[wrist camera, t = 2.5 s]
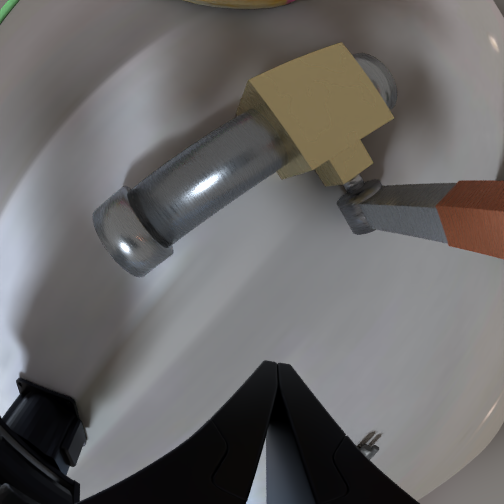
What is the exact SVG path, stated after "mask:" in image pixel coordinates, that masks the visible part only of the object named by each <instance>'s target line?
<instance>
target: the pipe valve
mask: <svg viewBox="0 0 504 504" xmlns="http://www.w3.org/2000/svg"><path fill="white" fill-rule="evenodd" d="M396 100H397V88H396V84H395V82H394V79H393V77H392V75H391V73H390V72H389V70H388V69H387V68H386V67H385V66H384V64H383V63H381V62H380V61H379V60H378V59H376V58H375V57H373V56H371V55H368V54H364V53H358V54H354V55H351V53H350V52H349V51H348V49H347V48H346V47H345V46H344V45H343V43H342V42H341V43H338V44H335V45H332V46H329V47H326V48H323V49H320V50H317V51H314V52H312V53H309V54H306V55H304V56H301V57H299V58H296V59H294V60H291V61H289V62H287V63H284V64H282V65H280V66H277V67H275V68H273V69H271V70H268V71H266V72H264V73H262V74H260V75H258V76H256V77H254V78H252V79H250V80H248V83H247V85H246V88H245V91H244V93H243V96H242V99H241V101H240V104H239V107H238V110H237V112H236V115H237V117H236V118H234V119H232V120H231V121H229V122H227V123H226V124H224V125H222V126H221V127H219V128H217V129H216V130H214V131H213V132H211V133H209V134H208V135H206V136H205V137H203V138H202V139H200V140H199V141H197V142H196V143H194V144H193V145H191V146H190V147H188V148H187V149H185V150H184V151H182V152H181V153H179V154H178V155H177V156H175V157H174V158H172V159H171V160H170V161H168V162H167V163H165V164H164V165H163V166H161V167H160V168H159V169H157V170H156V171H155V172H153V173H152V174H151V175H149V176H148V177H147V178H145V179H144V180H143V181H142V182H140V183H139V184H138V185H136V186H135V187H134V188H133V189H130V188H129V187H127V186H123V187H122V188H121V189H119V190H118V191H117V192H116V193H115V194H114V195H112V196H111V197H110V198H109V199H108V200H107V201H105V202H104V203H103V204H102V205H101V206H100V207H99V208H98V209H96V210H95V211H94V213H93V223H94V227H95V230H96V232H97V234H98V236H99V238H100V240H101V242H102V244H103V245H104V247H105V248H106V250H107V251H108V252H109V254H110V255H111V256H112V257H113V259H114V260H115V261H116V262H117V263H118V264H119V265H120V266H121V267H122V268H123V269H125V270H126V271H127V272H129V273H130V274H132V275H134V276H136V277H143V276H145V275H146V274H147V273H149V272H150V271H151V270H152V269H154V268H155V267H156V266H158V265H159V264H160V263H162V262H163V261H164V260H166V259H167V258H168V257H169V256H171V255H172V254H173V247H172V245H173V244H174V243H175V242H177V241H178V240H179V239H181V238H182V237H183V236H185V235H186V234H187V233H189V232H190V231H191V230H193V229H194V228H195V227H197V226H198V225H200V224H201V223H202V222H204V221H205V220H206V219H208V218H209V217H211V216H212V215H213V214H215V213H216V212H218V211H219V210H220V209H222V208H223V207H225V206H226V205H228V204H229V203H230V202H232V201H233V200H235V199H236V198H238V197H239V196H241V195H242V194H243V193H245V192H246V191H248V190H249V189H251V188H252V187H254V186H255V185H257V184H258V183H260V182H261V181H263V180H264V179H266V178H267V177H269V176H270V175H272V174H273V173H275V172H277V173H278V175H279V176H280V178H281V179H286V178H289V177H292V176H295V175H299V174H302V173H305V172H309V171H312V170H314V169H315V171H316V172H317V174H318V176H319V177H320V179H321V180H322V182H323V184H324V185H325V187H326V186H334V185H342V184H343V186H344V187H345V189H346V191H347V193H353V192H355V191H357V190H359V189H361V188H362V187H363V186H364V185H365V183H364V181H363V179H362V177H361V176H360V174H359V173H360V172H362V171H363V170H365V169H366V168H367V167H369V166H370V165H372V164H373V161H372V159H371V158H370V156H369V154H368V152H367V151H366V149H365V147H364V145H363V144H362V142H361V140H360V139H362V138H363V137H365V136H366V135H368V134H370V133H371V132H373V131H374V130H376V129H378V128H379V127H381V126H382V125H384V124H386V123H387V122H389V121H391V120H392V119H394V116H393V115H392V113H391V111H390V110H391V109H392V108H393V107H394V105H395V103H396Z"/></svg>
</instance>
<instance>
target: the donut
mask: <svg viewBox="0 0 504 504" xmlns="http://www.w3.org/2000/svg"><path fill="white" fill-rule="evenodd" d="M184 1H188V2H191V3H195V4H200V5H206V6H212V7H220V8H231V9H261V8H273V7H277V6H281V5H286V4H289V3H291V2H293V1H295V0H184Z"/></svg>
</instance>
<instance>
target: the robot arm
mask: <svg viewBox="0 0 504 504" xmlns="http://www.w3.org/2000/svg"><path fill="white" fill-rule="evenodd" d="M16 383H17V386H18V389H19V392H20V395H19V396H18V397H17V399H16V400H15V401H14V403H13V404H12V405H11V407H10V408H9V409H8V411H7V412H6V413H5V415H4V416H3V418H1V416H0V504H246V502H247V500H248V496H249V493H250V490H251V487H252V483H253V480H254V477H255V473H256V470H257V467H258V463H259V460H260V456H261V453H262V449H263V445H264V442H265V438H266V490H267V504H420V503H418V502H417V501H416V500H415V499H413V498H412V497H411V496H410V495H409V494H407V493H406V492H405V491H404V490H403V489H401V488H400V487H399V486H398V485H397V484H395V483H394V482H393V481H392V480H391V479H390V478H389V477H387V476H386V475H385V474H384V473H383V472H382V471H381V470H379V469H378V468H377V467H376V466H375V465H374V464H373V463H372V462H371V461H370V460H369V459H368V458H367V457H366V456H365V455H364V454H363V453H362V452H361V451H360V450H359V448H358V447H357V446H356V445H355V444H354V443H353V442H352V440H351V439H350V438H349V437H348V436H345V435H346V434H345V433H344V431H343V430H342V429H341V428H340V427H339V425H338V424H337V423H336V422H335V420H334V419H333V418H332V417H331V416H330V414H329V413H328V412H327V411H326V409H325V408H324V407H323V406H322V404H321V403H320V402H319V401H318V399H317V398H316V397H315V396H314V394H313V393H312V392H311V390H310V389H309V388H308V387H307V385H306V384H305V383H304V382H303V380H302V379H301V378H300V376H299V375H298V374H297V372H296V371H295V370H294V369H293V367H292V366H291V365H290V364H285V363H278V364H277V363H276V362H272V361H266V360H265V361H263V362H262V363H261V365H260V366H259V367H258V368H257V369H256V370H255V371H254V372H253V374H252V375H251V376H250V377H249V378H248V379H247V380H246V381H245V383H244V384H243V385H242V386H241V387H240V388H239V389H238V390H237V391H236V392H235V393H234V394H233V396H232V397H231V398H230V399H229V400H228V401H227V402H226V403H225V404H224V405H223V406H222V407H221V408H220V409H219V410H218V411H217V412H216V413H215V414H214V415H213V416H212V417H211V419H210V420H208V421H207V422H206V423H205V424H204V425H203V426H202V427H201V428H200V429H199V430H198V431H197V432H195V433H194V434H193V435H192V436H191V437H190V438H189V439H187V440H186V441H185V442H183V443H182V444H180V445H179V446H178V447H176V448H175V449H174V450H172V451H170V452H169V453H167V454H166V455H164V456H163V457H161V458H160V459H158V460H156V461H155V462H153V463H152V464H150V465H148V466H147V467H145V468H143V469H142V470H140V471H138V472H137V473H135V474H133V475H131V476H130V477H128V478H126V479H124V480H122V481H120V482H119V483H117V484H115V485H113V486H111V487H109V488H107V489H105V490H103V491H101V492H99V493H97V494H95V495H93V496H91V497H89V498H86V499H84V500H82V501H80V484H79V483H78V482H76V481H75V480H72V479H70V478H69V477H68V476H66V475H67V472H68V469H69V467H70V466H71V467H74V466H76V463H77V460H78V458H79V455H80V452H81V450H82V447H83V446H85V445H86V435H85V432H84V429H83V425H82V422H81V420H80V419H79V415H78V411H77V407H76V403H75V401H74V400H73V399H72V398H71V397H68V396H65V395H62V394H59V393H57V392H54V391H51V390H49V389H46V388H43V387H41V386H38V385H36V384H34V383H31V382H29V381H27V380H24V379H22V378H18V379H17V380H16Z"/></svg>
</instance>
